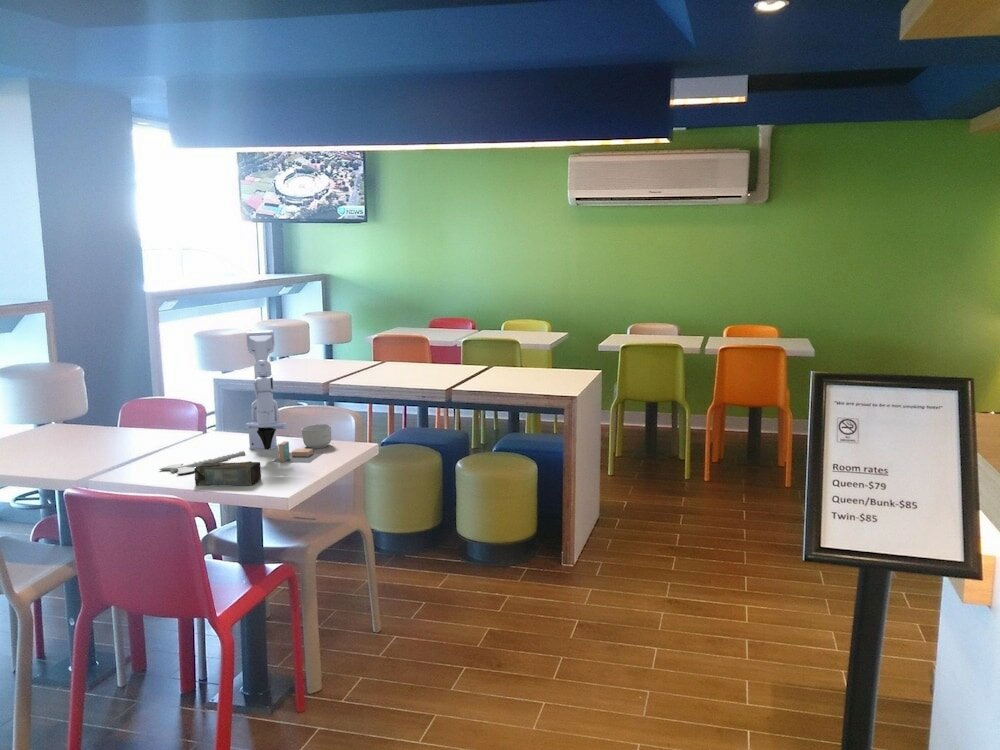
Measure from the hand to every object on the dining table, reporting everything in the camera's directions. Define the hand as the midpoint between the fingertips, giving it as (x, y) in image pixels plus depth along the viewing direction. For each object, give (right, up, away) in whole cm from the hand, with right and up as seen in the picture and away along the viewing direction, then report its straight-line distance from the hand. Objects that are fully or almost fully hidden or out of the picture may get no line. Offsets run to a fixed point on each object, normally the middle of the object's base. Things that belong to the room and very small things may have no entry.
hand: (267, 448), depth 299 cm
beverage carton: (-5, -9, -27) cm, 29 cm away
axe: (-20, -6, -3) cm, 21 cm away
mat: (+10, -4, +3) cm, 11 cm away
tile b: (+6, -4, 0) cm, 7 cm away
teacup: (+13, -1, +21) cm, 25 cm away
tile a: (+8, -2, +6) cm, 10 cm away
